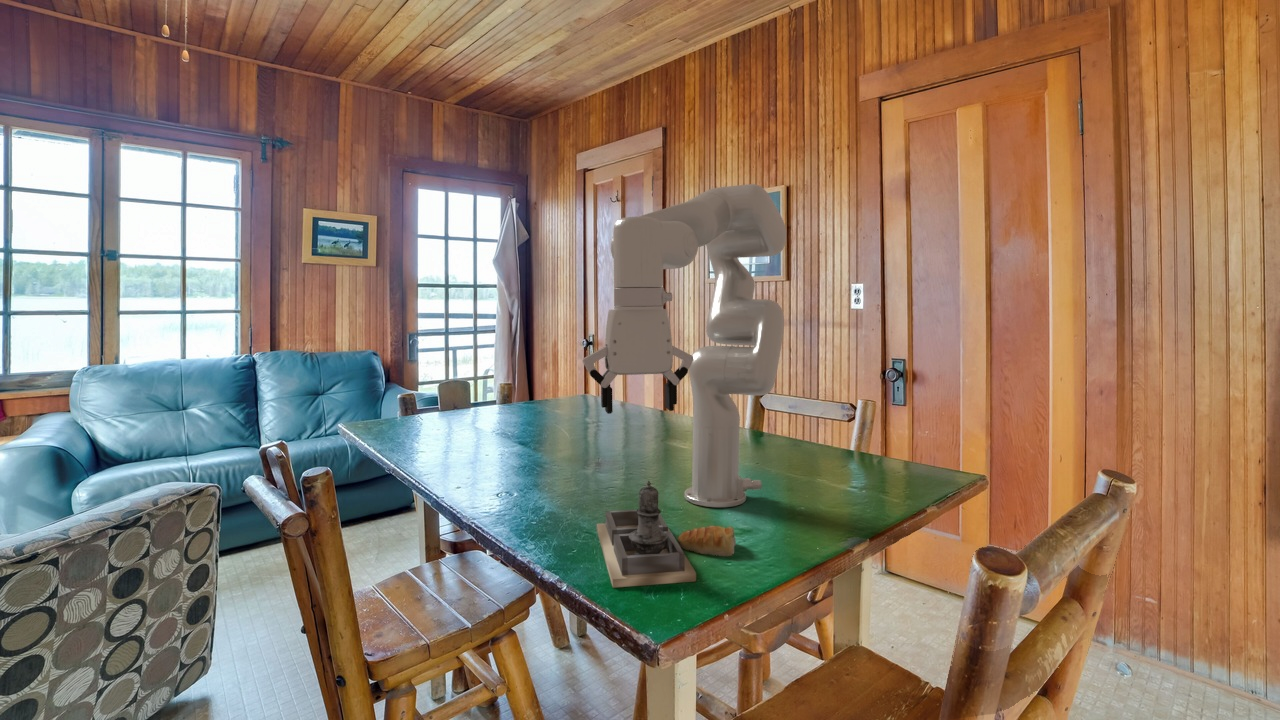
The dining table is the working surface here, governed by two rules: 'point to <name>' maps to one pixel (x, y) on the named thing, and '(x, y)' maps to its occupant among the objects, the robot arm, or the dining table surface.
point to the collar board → (640, 567)
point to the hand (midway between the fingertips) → (639, 410)
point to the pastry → (709, 540)
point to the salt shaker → (648, 524)
